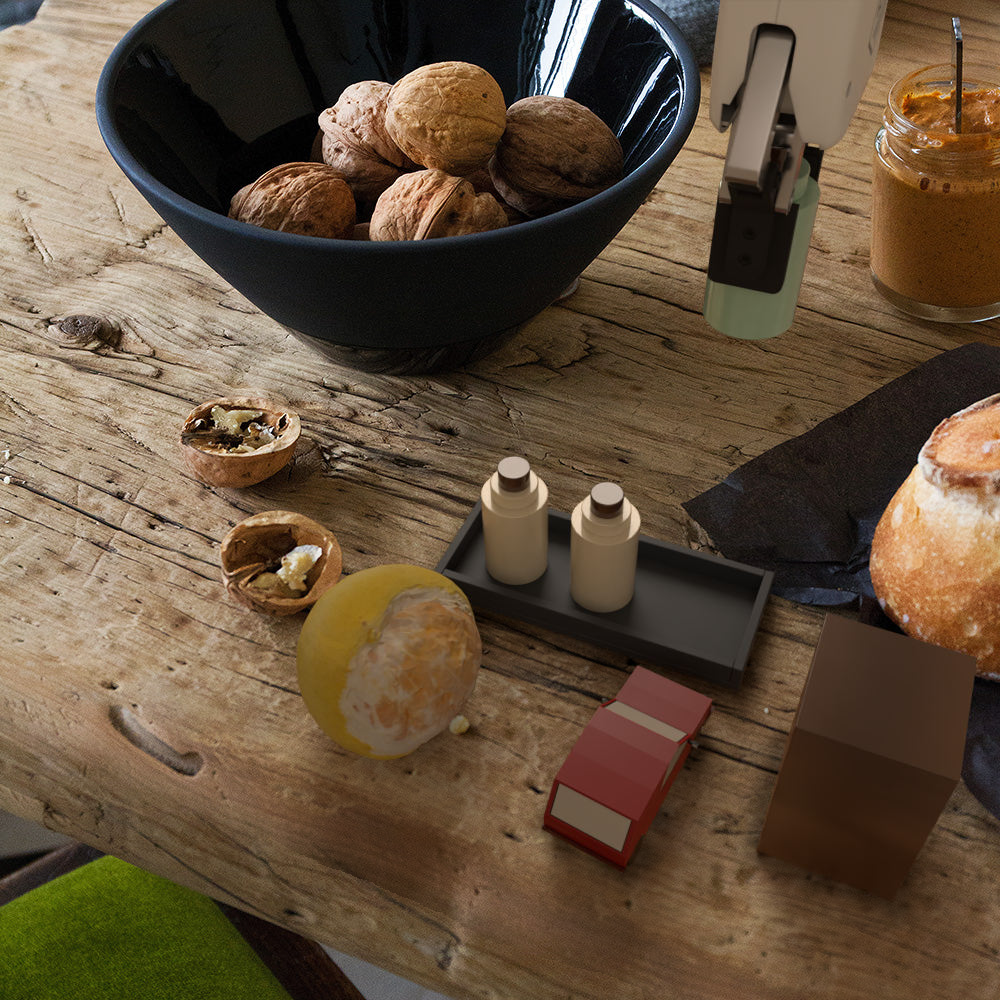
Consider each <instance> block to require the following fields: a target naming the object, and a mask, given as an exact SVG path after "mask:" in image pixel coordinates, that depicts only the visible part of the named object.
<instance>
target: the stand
mask: <svg viewBox="0 0 1000 1000" xmlns="http://www.w3.org/2000/svg"><path fill="white" fill-rule="evenodd" d="M812 654H813V655H812V657H811V661H810V664H809V667H808V671H807V674H806V676H805V680H804V684H803V687H802V690H801V693H800V696H799V700H798V703H797V706H796V709H795V712H794V716H793V718H792V723H791V725H790V728H789V732H788V734H787V738H786V742H785V744H784V749H783V753H782V755H781V760H780V762H779V767H778V770H777V774H776V778H775V780H774V785H773V788H772V791H771V796H770V799H769V802H768V806H767V810H766V813H765V817H764V821H763V825H762V828H761V831H760V834H759V838H758V842H757V845H756V849H755V850H756V852H758V853H761V854H764V855H767V856H770V857H773V858H775V859H778V860H781V861H783V862H785V863H788V864H791V865H794V866H796V867H799V868H802V869H804V870H807V871H810V872H813V873H815V874H817V875H821V876H823V877H827V878H829V879H832V880H834V881H837V882H839V883H842V884H845V885H848V886H851V887H853V888H856V889H858V890H861V891H864V892H867V893H869V894H872V895H874V896H878V897H880V898H881V899H885V900H888V901H890V902H893V901H894V899H895V897H896V896H897V894H898V892H899V890H900V888H901V887H902V885H903V883H904V881H905V880H906V879H907V876H908V874H909V872H910V871H911V869H912V867H913V865H914V863H915V862H916V860H917V858H918V857H919V854H920V853H921V851H922V849H923V847H924V846H925V844H926V842H927V840H928V838H929V837H930V835H931V833H932V832H933V830H934V829H935V826H936V824H937V823H938V821H939V819H940V817H941V815H942V813H943V812H944V810H945V808H946V806H947V804H948V803H949V801H950V799H951V797H952V796H953V794H954V792H955V790H956V788H957V786H958V785H959V783H960V781H961V774H962V769H963V768H962V767H963V761H964V754H965V747H966V740H967V732H968V726H969V725H968V724H969V719H970V711H971V704H972V699H973V698H972V697H973V696H972V695H973V691H974V682H975V676H976V668H977V661H978V657H977V656H976V655H975V656H974V655H972V654H969V653H968V654H967V653H965V652H960V651H957V650H954V649H951V648H947V647H944V646H940V645H937V644H933V643H930V642H928V641H923V640H920V639H916V638H913V637H911V636H906V635H903V634H900V633H896V632H893V631H890V630H887V629H884V628H880V627H876V626H873V625H869V624H866V623H863V622H860V621H856V620H852V619H849V618H847V617H842V616H839V615H836V614H832V613H830V612H829V613H828V612H826V613H825V616H824V619H823V622H822V626H821V629H820V632H819V635H818V638H817V642H816V645H815V648H814V652H813V653H812Z"/></svg>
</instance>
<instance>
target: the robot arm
mask: <svg viewBox="0 0 1000 1000" xmlns="http://www.w3.org/2000/svg"><path fill="white" fill-rule="evenodd" d="M888 3H889V0H719V6H718V13H717V23H716V31H715V38H714V47H713V54H712V55H713V56H712V63H711V75H710V86H709V97H708V98H709V99H708V101H709V103H708V105H709V106H708V119H709V121H710V122H711V124H712V126H713V127H714V128H715V130H717V132H718V133H719V134H724V133H726V132H727V130H728V129H729V128H730V129H729V130H730V131H729V137H728V141H727V142H728V143H727V149H726V154H725V160H724V165H723V170H722V177H721V179H722V181H721V187H720V193H719V194H718V193H717V196H718V198H716V204H717V205H715V211H716V212H714V219H715V220H714V219H713V226H714V227H712V233H713V234H712V235H711V241H712V242H710V248H711V249H709V256H710V257H709V256H708V263H709V264H707V270H708V271H706V276H707V275H708V278H709V279H710V280H711V281H713V282H716V283H720V284H725V285H730V286H735V287H740V288H745V289H749V290H754V291H759V292H764V293H769V294H777V293H779V292H780V291H781V289H782V286H783V284H784V282H785V277H786V272H787V267H788V261H789V256H790V251H791V246H792V241H793V236H794V231H795V226H796V221H797V216H798V211H799V206H800V204H796V203H792V202H793V198H794V194H795V189H796V185H797V180H798V175H799V171H800V166H801V162H802V157H803V158H804V159H806V160H807V162H808V163H809V165H810V175H809V176H810V177H812V178H813V179H814V180H815V181H816V182H817V183H818V184H819V178H820V174H821V169H822V164H823V160H824V155H825V151H828V150H830V149H831V148H833V147H835V146H836V145H838V144H839V143H840V142H841V141H842V140H843V139H844V137H845V136H846V133H847V131H848V129H849V127H850V125H851V123H852V121H853V118H854V116H855V113H856V112H857V110H858V107H859V105H860V102H861V100H862V97H863V96H864V93H865V90H866V88H867V85H868V83H869V80H870V78H871V76H872V73H873V70H874V68H875V65H876V61H877V57H878V54H879V53H878V52H879V48H880V43H881V38H882V33H883V28H884V22H885V17H886V12H887V7H888ZM809 144H812V145H818V147H817V146H811V145H809ZM772 146H775V147H781V148H787V150H786V155H785V159H784V164H783V169H782V172H780V167H779V163H777V162H771V157H770V154H771V147H772Z"/></svg>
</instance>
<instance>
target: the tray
mask: <svg viewBox="0 0 1000 1000" xmlns="http://www.w3.org/2000/svg"><path fill="white" fill-rule="evenodd" d="M571 515H572V513H569V512H564V511H562V510H557V509H556V508H555V509H554V508H551V507H548V565H547V568H546V570H545V572H544V573H543V574H542V575H541V576H540V577H539V578H538V579H536V580H535V581H533V582H530V583H527V584H522V585H510V584H505V583H502V582H500V581H498V580H496V579H495V578H493V577H492V576H491V575H490V574H489V572H488V571H487V568H486V565H485V553H484V537H483V521H482V505H481V496H480V497H479V498H478V499H477V501H476V503H475V505H474V506H473V508H472V509H471V510H470V513H469V514H468V515H467V517H466V519H465V520H464V522H463V524H462V525H461V527H460V528H459V530H458V532H457V533H456V534H455V536H454V538H453V540H452V541H451V542H450V544H449V546H448V548H447V549H446V551H445V552H444V554H443V556H442V557H441V558H440V560H439V561H438V563H437V565H436V566H435V568H434V570H433V571H435V572H437V573H439V574H441V575H443V576H445V577H446V578H448V579H449V580H451V581H452V582H453V583H454V584H455V585H457V586H458V587H459V588H460V589H461V590H462V592H463V593H464V594H465V596H466V597H467V599H468V601H469V603H470V606H474V607H478V608H480V609H483V610H487V611H489V612H493V613H496V614H499V615H502V616H505V617H508V618H511V619H513V620H514V619H515V620H517V621H521V622H522V623H523V622H524V623H526V624H530V625H532V626H535V627H538V628H541V629H546V630H548V631H551V632H554V633H557V634H560V635H563V636H566V637H569V638H572V639H575V640H579V641H581V642H584V643H588V644H591V645H593V646H597V647H599V648H600V647H601V648H604V649H606V650H609V651H612V652H615V653H619V654H622V655H624V656H628V657H631V658H634V659H636V660H639V661H642V662H646V663H648V664H651V665H655V666H658V667H661V668H664V669H667V670H670V671H673V672H676V673H678V674H679V673H680V674H682V675H685V676H689V677H692V678H694V679H698V680H701V681H704V682H707V683H710V684H713V685H716V686H720V687H723V688H724V689H728V690H732V691H734V692H739V690H740V687H741V684H742V682H743V678H744V674H745V673H746V672H745V671H746V669H747V665H748V662H749V661H750V660H749V659H750V657H751V653H752V650H753V647H754V644H755V642H756V638H757V635H758V632H759V629H760V626H761V622H762V619H763V617H764V614H765V610H766V607H767V605H768V601H769V598H770V596H771V591H772V588H773V583H774V579H775V575H776V573H775V572H773V571H770V570H765V569H763V568H760V567H755V566H752V565H749V564H745V563H742V562H739V561H735V560H731V559H728V558H724V557H721V556H718V555H714V554H711V553H707V552H705V551H704V552H703V551H701V550H697V549H693V548H690V547H687V546H683V545H679V544H676V543H673V542H669V541H665V540H662V539H658V538H655V537H651V536H648V535H645V534H642V533H640V536H639V546H638V557H637V567H636V578H635V588H634V594H633V597H632V599H631V600H630V601H629V603H628V604H627V605H625V606H624V607H622V608H621V609H619V610H616V611H612V612H605V613H601V612H594V611H590V610H587V609H585V608H583V607H582V606H580V605H579V604H578V603H577V602H576V601H575V600H574V599H573V597H572V595H571V593H570V589H569V578H570V540H571Z"/></svg>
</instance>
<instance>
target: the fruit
mask: <svg viewBox="0 0 1000 1000" xmlns="http://www.w3.org/2000/svg"><path fill="white" fill-rule="evenodd" d="M482 643H483V642H482V639H481V635H480V632H479V629H478V627H477V624H476V619H475V615H474V612H473V609H472V605H471V604H470V603H469V601H468V599H467V597H466V596H465V594H464V593H463V592H462V590H461V589H460V588H459V587H458V586H457V585H455V584H454V583H453V582H452V581H451V580H449V579H448V578H446V577H445V576H443V575H441V574H439V573H437V572H435V571H434V570H432V569H428V568H425V567H421V566H417V565H413V564H406V563H390V564H382V565H377V566H374V567H369V568H365V569H363V570H359V571H357V572H353V573H351V574H349V575H347V576H345V577H344V578H343V579H341V580H340V581H338V582H337V583H336V584H335V585H332V586H331V587H329V588H328V589H327V590H326V591H325V592H324V593H323V594H322V595H321V596H320V597H319V598H318V600H317V601H316V602H315V604H314V605H313V606H312V608H311V610H310V612H309V613H308V615H307V617H306V618H305V621H304V623H303V625H302V627H301V629H300V634H299V637H298V640H297V645H296V654H295V655H296V658H295V664H296V665H295V666H296V675H297V676H296V678H297V682H298V687H299V691H300V694H301V697H302V700H303V702H304V704H305V707H306V709H307V710H308V713H309V714H310V716H311V718H312V719H313V721H314V722H315V723H316V725H317V726H318V727H319V729H320V730H321V731H322V732H323V733H324V734H325V736H327V737H328V738H329V739H330V740H332V741H333V742H334V743H336V744H337V745H339V746H340V747H342V748H343V749H344V750H347V751H350V752H352V753H355V754H357V755H360V756H362V757H365V758H368V759H371V760H376V761H393V760H397V759H400V758H402V757H406V756H408V755H410V754H411V753H413V752H415V751H416V750H418V749H419V747H421V745H423V744H427V743H428V741H430V740H431V739H433V738H434V737H436V736H437V735H439V734H441V733H442V732H443V731H445V729H447V728H448V727H449V726H450V725H451V723H452V722H453V721H454V719H455V717H456V716H457V714H458V713H459V712H461V711H463V709H464V708H465V706H466V705H467V703H468V702H469V699H470V697H471V696H472V695H473V693H474V692H475V690H476V685H477V680H478V677H479V672H480V669H481V665H482V661H483V659H482V658H483V644H482Z"/></svg>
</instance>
